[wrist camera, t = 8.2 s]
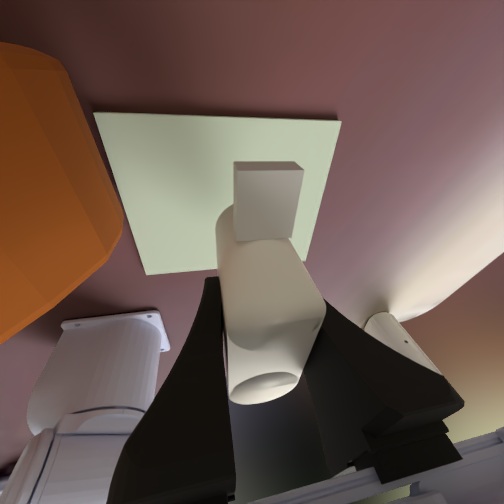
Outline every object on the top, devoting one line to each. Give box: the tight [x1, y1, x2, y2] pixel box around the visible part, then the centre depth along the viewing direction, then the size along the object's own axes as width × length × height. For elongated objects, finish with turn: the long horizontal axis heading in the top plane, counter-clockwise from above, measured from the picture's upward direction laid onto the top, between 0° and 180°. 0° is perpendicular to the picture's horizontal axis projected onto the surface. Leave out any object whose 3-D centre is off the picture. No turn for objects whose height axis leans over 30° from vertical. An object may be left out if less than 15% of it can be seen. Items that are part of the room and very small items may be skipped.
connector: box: [215, 161, 326, 404], centre depth 10 cm, size 3×11×6 cm, turn 177°
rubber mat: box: [93, 112, 342, 275], centre depth 19 cm, size 16×13×1 cm
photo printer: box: [364, 312, 443, 376], centre depth 33 cm, size 10×4×12 cm, turn 4°
